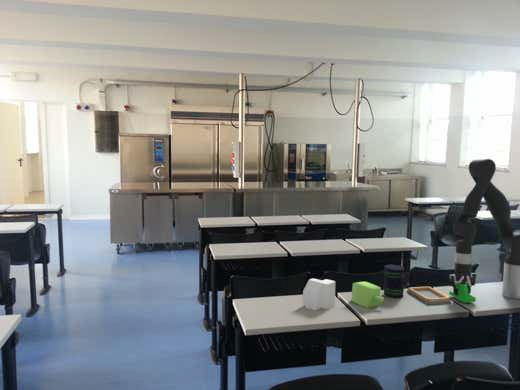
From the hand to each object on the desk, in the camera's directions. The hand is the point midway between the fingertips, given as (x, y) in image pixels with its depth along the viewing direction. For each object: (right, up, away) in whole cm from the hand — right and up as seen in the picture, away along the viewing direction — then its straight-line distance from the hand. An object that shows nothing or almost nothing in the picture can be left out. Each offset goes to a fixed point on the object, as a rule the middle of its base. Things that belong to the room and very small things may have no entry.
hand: (461, 294), depth 209 cm
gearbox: (-48, -4, -6) cm, 49 cm away
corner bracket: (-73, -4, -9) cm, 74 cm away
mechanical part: (0, -2, 0) cm, 2 cm away
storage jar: (-32, -2, +7) cm, 33 cm away
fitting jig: (-15, -2, +4) cm, 16 cm away
